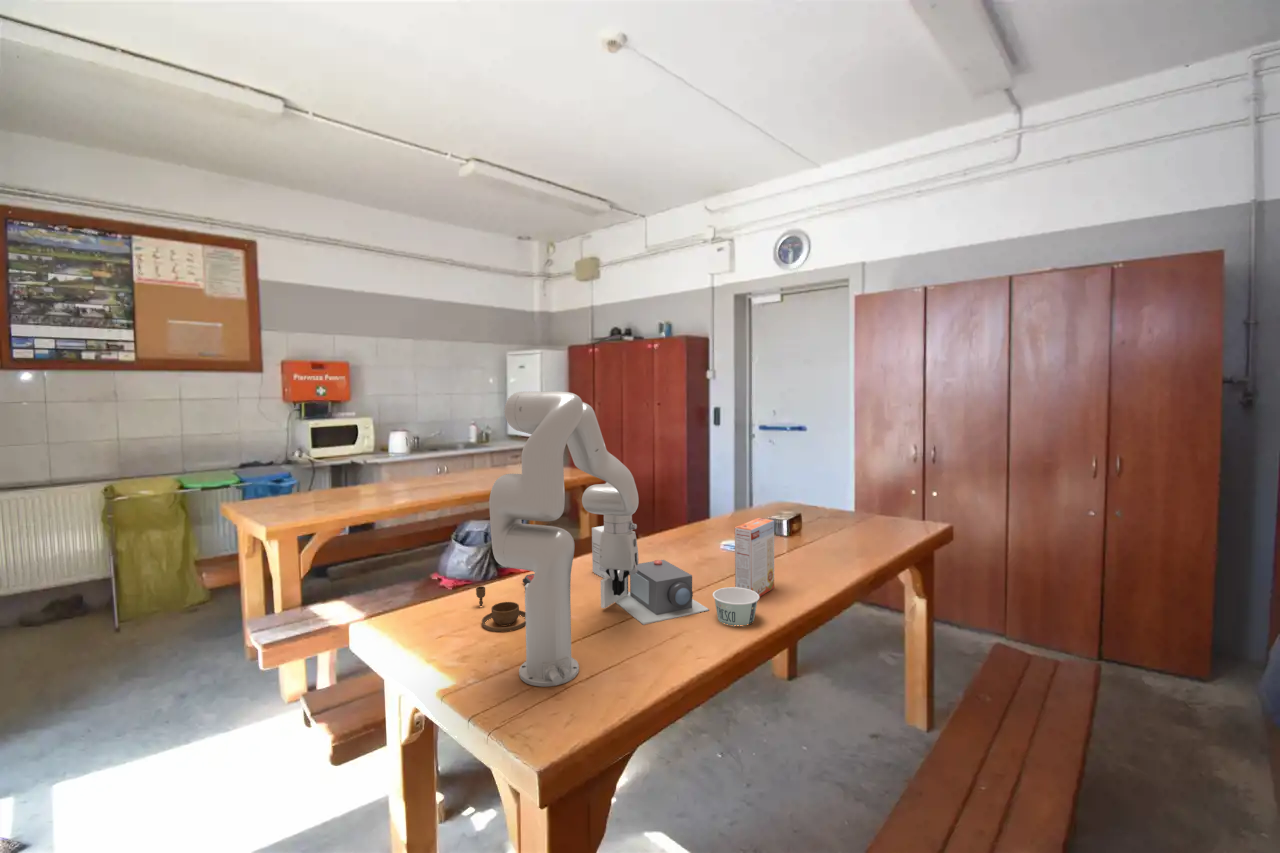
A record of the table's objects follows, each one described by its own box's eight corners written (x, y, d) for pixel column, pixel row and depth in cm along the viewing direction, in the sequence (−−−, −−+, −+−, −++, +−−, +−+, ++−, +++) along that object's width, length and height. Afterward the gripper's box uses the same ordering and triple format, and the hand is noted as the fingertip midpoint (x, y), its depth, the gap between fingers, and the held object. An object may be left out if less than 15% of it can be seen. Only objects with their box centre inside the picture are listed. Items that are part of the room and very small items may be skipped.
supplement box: (615, 567, 198) (615, 523, 197) (629, 574, 190) (629, 528, 189) (591, 572, 193) (590, 527, 192) (605, 579, 185) (604, 532, 184)
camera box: (709, 610, 160) (709, 573, 159) (643, 624, 151) (642, 585, 150) (669, 585, 180) (669, 552, 179) (608, 596, 171) (608, 562, 170)
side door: (604, 608, 159) (604, 580, 159) (600, 607, 160) (600, 580, 159) (629, 593, 170) (629, 567, 170) (625, 592, 171) (624, 566, 171)
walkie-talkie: (516, 585, 182) (537, 606, 165) (515, 571, 182) (537, 591, 164) (543, 580, 186) (567, 601, 169) (543, 566, 186) (567, 585, 169)
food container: (765, 616, 156) (765, 591, 156) (749, 632, 146) (749, 606, 145) (723, 607, 162) (723, 584, 162) (705, 623, 152) (705, 598, 152)
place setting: (467, 637, 146) (466, 614, 145) (474, 607, 165) (473, 586, 165) (539, 631, 149) (539, 608, 148) (538, 602, 168) (537, 582, 168)
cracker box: (756, 584, 180) (757, 516, 179) (775, 588, 176) (775, 519, 175) (733, 597, 169) (733, 525, 168) (752, 602, 166) (752, 529, 164)
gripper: (648, 525, 160) (649, 592, 161) (597, 521, 165) (598, 586, 166) (639, 532, 153) (639, 601, 154) (586, 528, 158) (587, 595, 159)
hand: (618, 593), depth 160 cm, fingers closed
